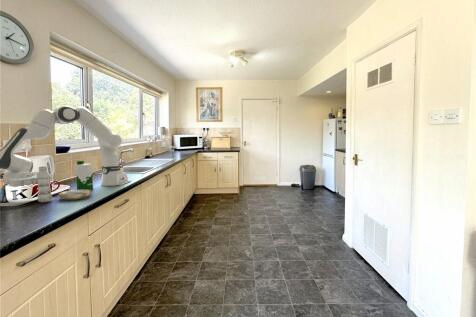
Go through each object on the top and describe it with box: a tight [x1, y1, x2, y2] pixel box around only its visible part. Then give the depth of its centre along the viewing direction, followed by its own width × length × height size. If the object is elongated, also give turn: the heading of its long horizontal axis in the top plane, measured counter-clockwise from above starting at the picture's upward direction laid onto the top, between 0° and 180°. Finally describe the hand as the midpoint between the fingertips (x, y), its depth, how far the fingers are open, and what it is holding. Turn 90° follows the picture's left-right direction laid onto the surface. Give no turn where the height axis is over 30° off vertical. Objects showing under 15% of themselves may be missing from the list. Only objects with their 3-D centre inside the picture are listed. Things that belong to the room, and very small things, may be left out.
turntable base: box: [62, 196, 88, 202], centre depth 152 cm, size 12×12×2 cm
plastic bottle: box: [36, 166, 53, 203], centre depth 142 cm, size 6×7×20 cm
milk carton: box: [74, 160, 94, 191], centre depth 172 cm, size 9×9×20 cm
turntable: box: [58, 189, 92, 200], centre depth 152 cm, size 16×16×2 cm
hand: (41, 181), depth 143 cm, fingers open, 8 cm apart
